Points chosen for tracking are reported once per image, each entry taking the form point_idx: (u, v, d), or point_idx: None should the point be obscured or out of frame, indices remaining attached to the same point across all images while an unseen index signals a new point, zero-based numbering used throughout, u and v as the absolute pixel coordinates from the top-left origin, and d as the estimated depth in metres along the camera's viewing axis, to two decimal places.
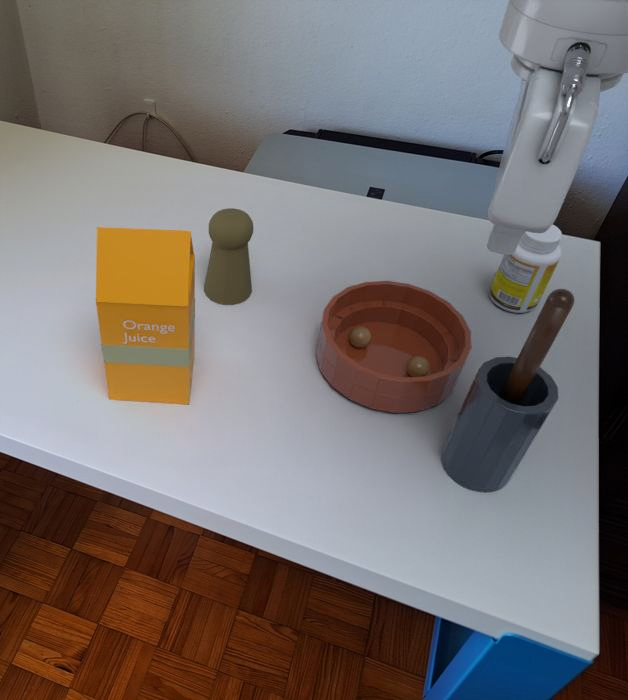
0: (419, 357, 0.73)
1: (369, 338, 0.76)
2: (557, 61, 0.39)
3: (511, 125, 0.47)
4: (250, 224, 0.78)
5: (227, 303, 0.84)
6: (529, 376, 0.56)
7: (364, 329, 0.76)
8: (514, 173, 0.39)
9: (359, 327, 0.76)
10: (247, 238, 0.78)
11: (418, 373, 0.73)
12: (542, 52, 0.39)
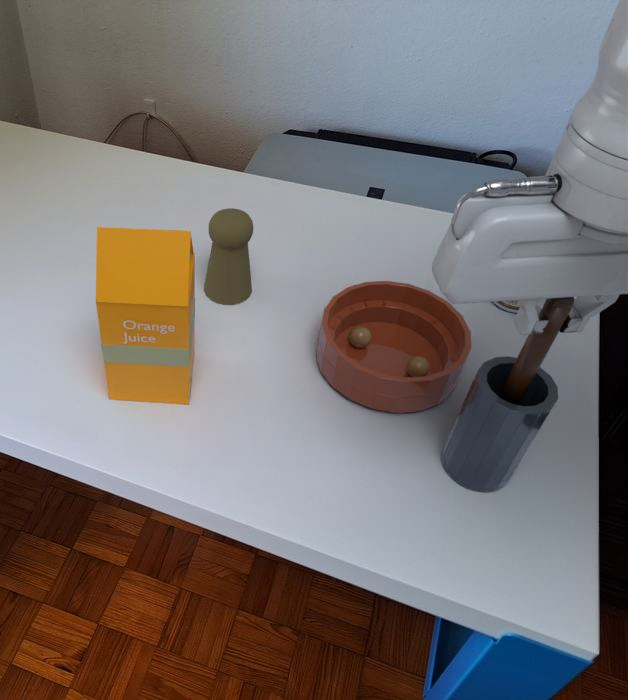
0: (419, 357, 0.73)
1: (369, 338, 0.76)
2: None
3: None
4: (250, 224, 0.78)
5: (227, 303, 0.84)
6: (529, 376, 0.56)
7: (364, 329, 0.76)
8: (445, 238, 0.48)
9: (359, 327, 0.76)
10: (247, 238, 0.78)
11: (418, 373, 0.73)
12: (547, 173, 0.45)
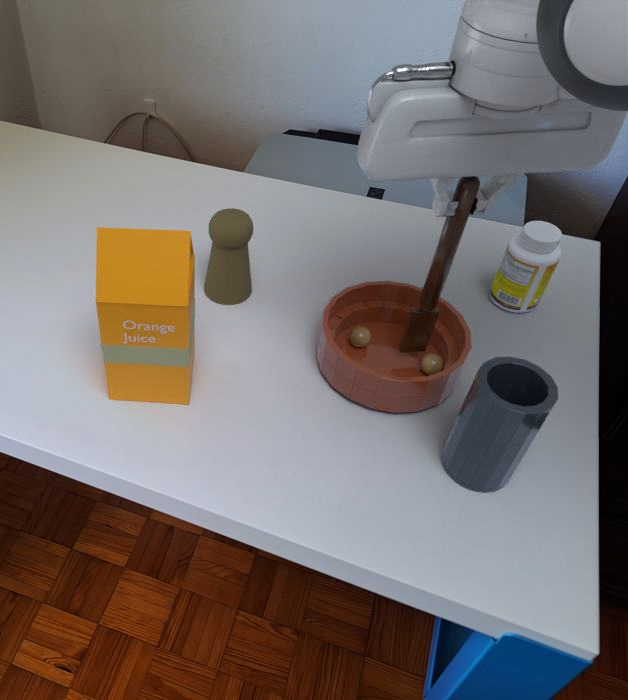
0: None
1: (369, 338, 0.76)
2: None
3: None
4: (250, 224, 0.78)
5: (227, 303, 0.84)
6: (447, 259, 0.64)
7: (364, 329, 0.76)
8: (365, 124, 0.56)
9: (359, 327, 0.76)
10: (247, 238, 0.78)
11: (437, 367, 0.73)
12: None
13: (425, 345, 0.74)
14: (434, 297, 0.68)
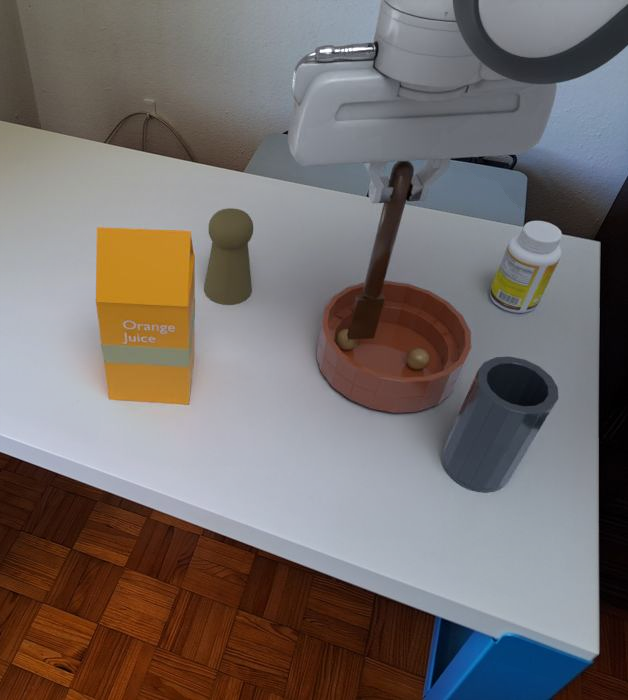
0: (421, 348, 0.74)
1: (349, 340, 0.75)
2: None
3: None
4: (250, 224, 0.78)
5: (227, 303, 0.84)
6: (386, 246, 0.64)
7: (339, 339, 0.76)
8: (293, 107, 0.55)
9: (336, 338, 0.77)
10: (247, 238, 0.78)
11: (413, 356, 0.73)
12: None
13: (373, 332, 0.73)
14: (377, 284, 0.67)
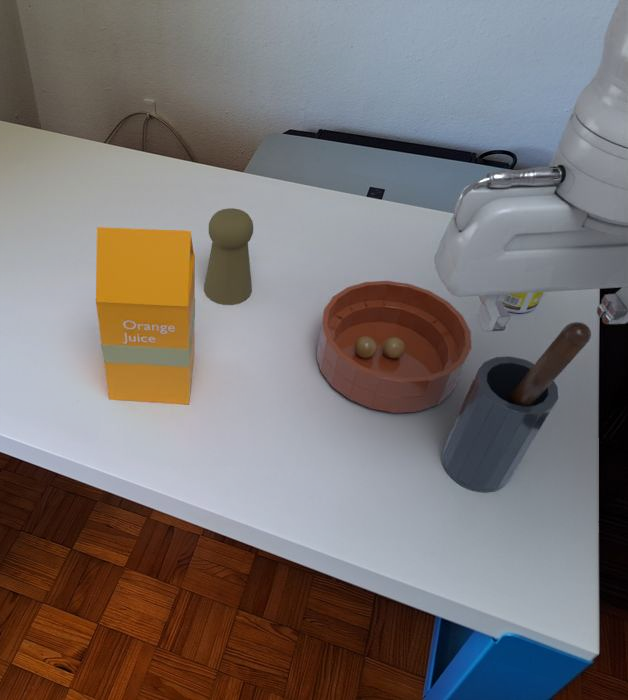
0: None
1: (367, 357, 0.76)
2: None
3: None
4: (250, 224, 0.78)
5: (227, 303, 0.84)
6: (534, 396, 0.55)
7: (369, 352, 0.75)
8: (447, 230, 0.48)
9: (369, 346, 0.75)
10: (247, 238, 0.78)
11: (386, 355, 0.76)
12: (550, 164, 0.45)
13: None
14: None
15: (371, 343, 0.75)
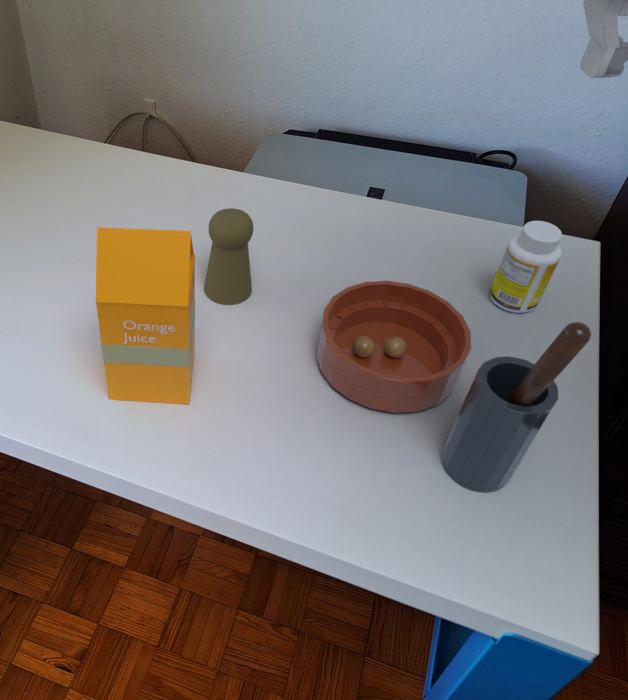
0: None
1: (366, 356, 0.76)
2: None
3: None
4: (250, 224, 0.78)
5: (227, 303, 0.84)
6: (534, 396, 0.55)
7: (366, 350, 0.75)
8: None
9: (366, 344, 0.75)
10: (247, 238, 0.78)
11: (388, 354, 0.76)
12: None
13: None
14: None
15: (367, 341, 0.75)
